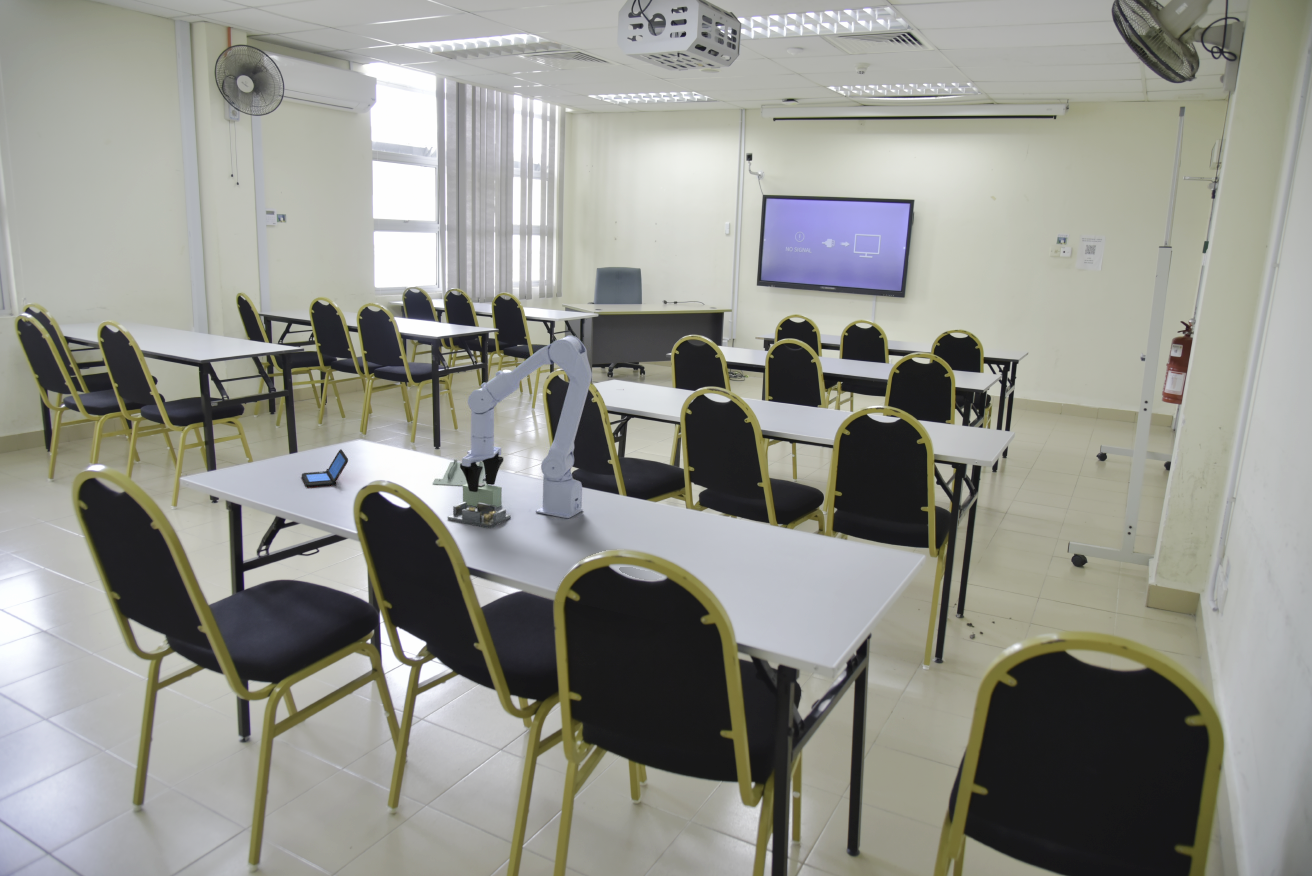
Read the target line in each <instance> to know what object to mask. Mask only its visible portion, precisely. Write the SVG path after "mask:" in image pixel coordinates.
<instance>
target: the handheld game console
mask: <svg viewBox="0 0 1312 876" xmlns="http://www.w3.org/2000/svg"><path fill="white" fill-rule="evenodd" d="M348 462H349V458H348V457H347V455H346V453H345V452H344V451H343V449H342V448H341V449H339V450H338V452H337V454H336V455H335V457H334V459H333V460H332V462H330V465H329V467H328V468H326V470H324V471H311V472H303V473H301V478H302V480H303V481H304V484H305V487H306V488H308V489H309V488H310V489H313V488H324V487H325V488H326V487H335V486H337V481H338V479H339V478H340V476H341V474H342V472H343V470H344V469H345V468H346V466H347V464H348Z"/></svg>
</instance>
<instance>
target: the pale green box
mask: <svg viewBox="0 0 1312 876" xmlns="http://www.w3.org/2000/svg"><path fill="white" fill-rule="evenodd" d="M502 494H503V490H502V486H499V485H498V486H497V485H490V484H488V485H486V484H481V483H479V486H478V491H477V492H472V491H469V488H468V484H466V485H463V486H462V502H467V505H468V506H470V507H477V503H484V504H490V505H495V506H496V509H498V508H499V507H501V506H502V505H503V504H502V503H503V501H502Z"/></svg>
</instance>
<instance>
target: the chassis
mask: <svg viewBox="0 0 1312 876" xmlns="http://www.w3.org/2000/svg"><path fill="white" fill-rule="evenodd" d="M476 507H477V508H476ZM452 510H453V511H452V514H451V515H448V516H447V520H448V521H452V522H457V523H461V524H465V525H466V524H467V525H472V526H477V527H481V528H486V529H487V528H488V529H491V528H493V527H495V526H497V525H499V524H502V523H504V522H506V521H507V520H510V519H511V517H512V515H511V514H507V509H504V508H502V509H499V510H498V511H497V508H496V506H495V505H490V504H484V503H477V506H469V507H468V506H467V502H463V501H462V502H460V503H457V504H455V505H453V507H452Z"/></svg>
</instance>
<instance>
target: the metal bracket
mask: <svg viewBox="0 0 1312 876" xmlns="http://www.w3.org/2000/svg"><path fill="white" fill-rule="evenodd" d="M461 463H462V461H461V462H459V461H458V459H455V458H454V460H453V461H451V462H449V465H448V467H447V469H446V471H445V473H444V475H443V476H442V478H434V480H433V482H432V486H448V487H449V486H451V487H463V485H466V484H467V481H466V478H465V475H464V473H463V471H462V470H461V468H460V464H461ZM476 464H477V466H482V467H483V468H482V470H481V473H480V477H479V483H481V484H486V480H484V479H485V468H484V464H483V461H480V462H477V463H476ZM486 485H489V484H486Z"/></svg>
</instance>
